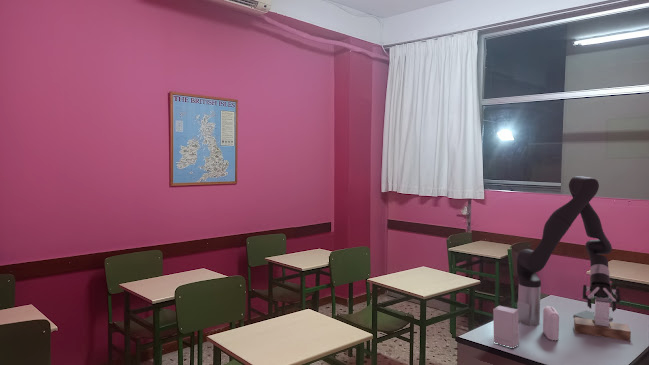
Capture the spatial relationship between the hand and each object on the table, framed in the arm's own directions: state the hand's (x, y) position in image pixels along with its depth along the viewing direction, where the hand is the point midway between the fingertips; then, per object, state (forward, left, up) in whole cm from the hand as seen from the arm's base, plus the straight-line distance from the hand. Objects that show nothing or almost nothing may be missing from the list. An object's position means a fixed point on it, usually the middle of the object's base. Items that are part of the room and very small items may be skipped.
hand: (601, 309), depth 195 cm
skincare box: (-47, +15, -11) cm, 50 cm away
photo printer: (-23, +10, -11) cm, 27 cm away
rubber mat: (+15, +11, -10) cm, 21 cm away
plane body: (-1, 0, -10) cm, 10 cm away
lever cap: (-1, 0, -7) cm, 7 cm away
